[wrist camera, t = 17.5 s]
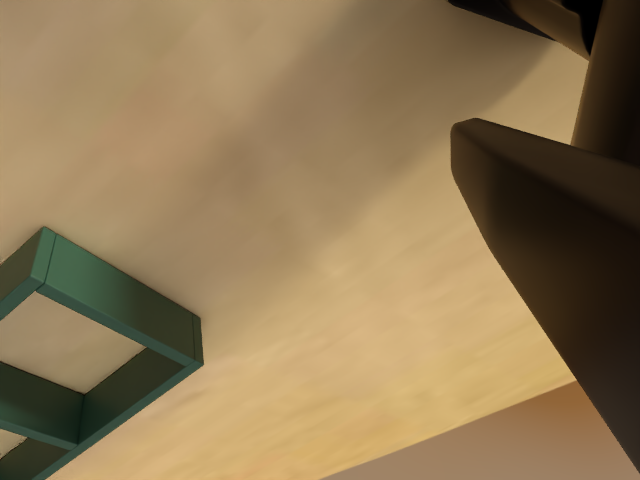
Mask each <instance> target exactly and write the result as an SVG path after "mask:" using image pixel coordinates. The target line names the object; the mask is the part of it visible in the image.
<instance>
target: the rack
mask: <svg viewBox="0 0 640 480" xmlns="http://www.w3.org/2000/svg"><path fill="white" fill-rule="evenodd" d="M35 290H36V292H38V293H40V294H42V295H44V296H46V297H48V298H50V299H52V300H54V301H56V302H58V303H60V304H62V305H64V306H66V307H68V308H70V309H72V310H74V311H76V312H78V313H80V314H82V315H84V316H86V317H88V318H90V319H92V320H94V321H96V322H98V323H100V324H102V325H104V326H106V327H108V328H110V329H112V330H114V331H116V332H118V333H120V334H122V335H124V336H126V337H128V338H130V339H132V340H134V341H136V342H138V343H140V344H142V345H144V346H146V347H148V348H146V349H145V350H144V351H142V352H141V353H140V354H138V355H137V356H136V357H134V358H133V359H132V360H131V361H129V362H128V363H127V364H125V365H124V366H123V367H121V368H120V369H119V370H117V371H116V372H115V373H113V374H112V375H111V376H110V377H108V378H107V379H106V380H104V381H103V382H102V383H100V384H99V385H98V386H96V387H95V388H94V389H92V390H91V391H90V392H89V393H87V394H86V395H85V396H84V395H82V394H79V393H77V392H74V391H72V390H69V389H67V388H64V387H61V386H59V385H56V384H54V383H51V382H49V381H46V380H44V379H41V378H39V377H36V376H34V375H31V374H28V373H26V372H23V371H21V370H18V369H16V368H13V367H11V366H8V365H6V364H3V363H1V362H0V429H3V430H7V431H10V432H13V433H16V434H19V435H23V436H26V437H29V438H28V439H27V440H26V441H24V442H23V443H22V444H20V445H19V446H18V447H16V448H15V449H14V450H12V451H11V452H10V453H9V454H7V455H6V456H5V457H3V458H2V459H1V460H0V480H45V479H47V478H48V477H49V476H51V475H52V474H53V473H55V472H56V471H58V470H59V469H60V468H62V467H63V466H65V465H66V464H67V463H69V462H70V461H71V460H73V459H74V458H76V457H77V456H78V455H80V454H81V453H83V452H84V451H85V450H87V449H88V448H89V447H91V446H92V445H94V444H95V443H96V442H98V441H99V440H101V439H102V438H103V437H105V436H106V435H107V434H109V433H110V432H112V431H113V430H114V429H116V428H117V427H119V426H120V425H121V424H123V423H124V422H125V421H127V420H128V419H130V418H131V417H132V416H134V415H135V414H137V413H138V412H139V411H141V410H142V409H143V408H145V407H146V406H148V405H149V404H150V403H152V402H153V401H155V400H156V399H157V398H159V397H160V396H161V395H163V394H164V393H166V392H167V391H168V390H170V389H171V388H173V387H174V386H175V385H177V384H178V383H179V382H181V381H182V380H184V379H185V378H186V377H188V376H189V375H191V374H192V373H193V372H195V371H196V370H198V369H199V368H200V367H202V366H203V365H204V360H203V347H202V333H201V320H200V318H199V317H197V316H196V315H194V314H192V313H191V312H189V311H187V310H186V309H184V308H182V307H180V306H179V305H177V304H175V303H174V302H172V301H170V300H169V299H167V298H165V297H163V296H162V295H160V294H158V293H157V292H155V291H153V290H152V289H150V288H148V287H146V286H145V285H143V284H141V283H140V282H138V281H136V280H135V279H133V278H131V277H129V276H128V275H126V274H124V273H123V272H121V271H119V270H118V269H116V268H114V267H113V266H111V265H109V264H107V263H106V262H104V261H102V260H101V259H99V258H97V257H96V256H94V255H92V254H90V253H89V252H87V251H85V250H84V249H82V248H80V247H79V246H77V245H75V244H73V243H72V242H70V241H68V240H67V239H65V238H63V237H62V236H60V235H58V234H55V233H54V232H53V231H51V230H49V229H47V228H46V227H42V228H41V229H40V230H39V231H38V232H37V233H36V234H35V235H34V236H33V237H31V238H30V239H29V240H28V241H27V242H26V243H25V244H24V245H23V246H22V247H21V248H19V249H18V250H17V251H16V252H15V253H14V254H13V255H12V256H11V257H10V258H8V259H7V260H6V261H5V262H4V263H3V264H2V265H1V266H0V321H1V320H2V319H3V318H4V317H5V316H6V315H8V314H9V313H10V312H11V311H12V310H13V309H15V308H16V307H17V306H18V305H19V304H20V303H21V302H23V301H24V300H25V299H26V298H27V297H28V296H29V295H31V294H32V293H33V292H34V291H35Z"/></svg>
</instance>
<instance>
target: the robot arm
mask: <svg viewBox="0 0 640 480" xmlns="http://www.w3.org/2000/svg"><path fill="white" fill-rule="evenodd" d="M446 1H448V2H449V3H451V4H452V5H454V6H456V7H459V8H462V9H465V10H468V11H471V12H473V13H476V14H479V15H482V16H485V17H488V18H491V19H494V20H496V21H499V22H502V23H505V24H508V25H511V26H514V27H517V28H519V29H522V30H525V31H528V32H531V33H534V34H537V35H539V36H542V37H545V38H548V39H551V40H554V41H557V42H559V43H561V44H563V45H564V46H566V47H567V48H569V49H571V50H572V51H574V52H575V53H577V54H579V55H580V56H582V57H583V58H585V59H586V60H588V61H589V64H588V69H587V73H586V78H585V82H584V87H583V91H582V96H581V100H580V105H579V109H578V114H577V118H576V122H575V127H574V131H573V136H572V140H571V145H568V144H564V143H561V142H557V141H554V140H551V139H547V138H544V137H540V136H537V135H534V134H530V133H527V132H523V131H520V130H517V129H513V128H510V127H507V126H503V125H500V124H496V123H493V122H490V121H486V120H483V119H479V118H472V119H469V120H465V121H462V122H458V123H455V124H454V125H453V126H452V128H451V133H450V139H451V170H452V174H453V177H454V180H455V182H456V184H457V186H458V188H459V190H460V192H461V194H462V196H463V198H464V200H465V202H466V204H467V206H468V208H469V210H470V212H471V214H472V216H473V218H474V220H475V222H476V224H477V226H478V228H479V230H480V232H481V234H482V236H483V238H484V240H485V242H486V244H487V245H488V247H489V249H490V251H491V252H492V254H493V255H494V257H495V259H496V260H497V262H498V263H499V265H500V266H501V267H502V269H503V270H504V272H505V273H506V275H507V276H508V278H509V279H510V281H511V282H512V284H513V285H514V287H515V288H516V290H517V291H518V293H519V294H520V296H521V297H522V299H523V300H524V302H525V303H526V305H527V306H528V308H529V309H530V311H531V312H532V314H533V315H534V317H535V318H536V320H537V321H538V323H539V324H540V326H541V327H542V329H543V330H544V332H545V333H546V335H547V336H548V338H549V339H550V341H551V342H552V344H553V345H554V347H555V348H556V350H557V351H558V353H559V354H560V356H561V357H562V359H563V360H564V361H565V363H566V364H567V366H568V367H569V369H570V370H571V372H572V373H573V375H574V376H575V378H576V379H577V381H578V382H579V384H580V385H581V387H582V388H583V390H584V391H585V393H586V394H587V396H588V397H589V399H590V400H591V402H592V403H593V405H594V406H595V408H596V409H597V411H598V412H599V414H600V415H601V417H602V418H603V419H604V421H605V423H606V424H607V426H608V427H609V429H610V430H611V432H612V433H613V435H614V436H615V437H616V439H617V441H618V442H619V443H620V445H621V447H622V448H623V450H624V451H625V452H626V454H627V455H628V457H629V458H630V460H631V461H632V463H633V464H634V466H635V467H636V469H637V470H638V472H639V473H640V0H446Z"/></svg>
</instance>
